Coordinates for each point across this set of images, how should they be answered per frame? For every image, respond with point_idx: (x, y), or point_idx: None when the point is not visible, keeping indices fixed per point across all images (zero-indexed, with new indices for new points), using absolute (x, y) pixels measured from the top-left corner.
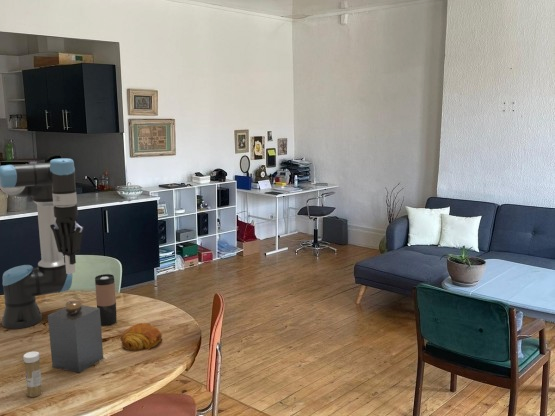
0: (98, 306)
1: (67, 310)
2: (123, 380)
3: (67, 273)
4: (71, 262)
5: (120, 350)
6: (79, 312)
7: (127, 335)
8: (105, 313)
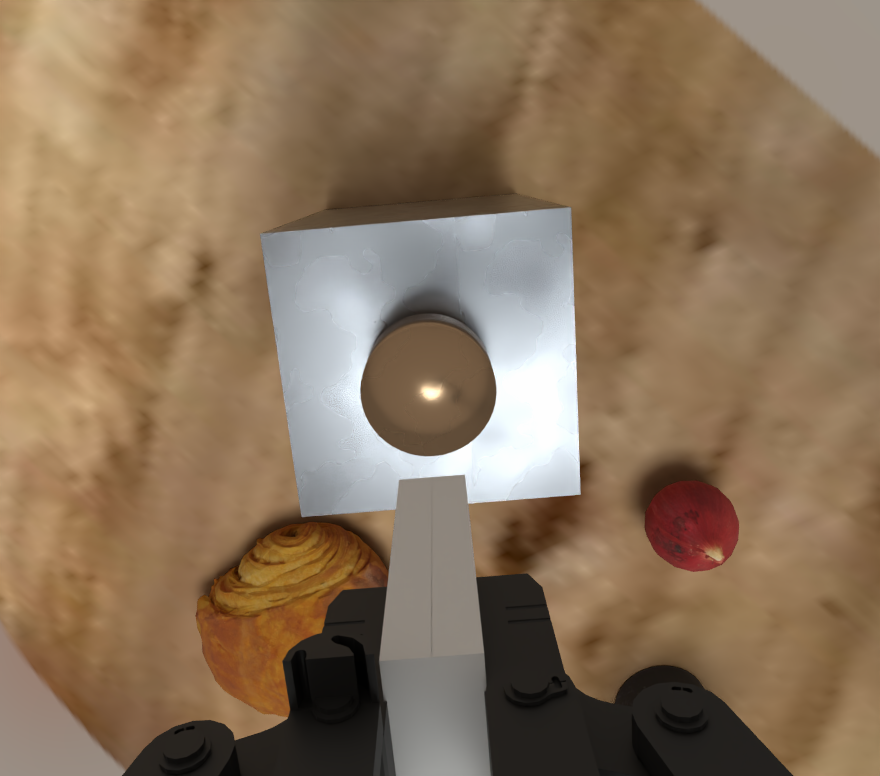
0: None
1: (435, 316)
2: (62, 262)
3: (439, 479)
4: (359, 609)
5: None
6: None
7: (320, 574)
8: None
